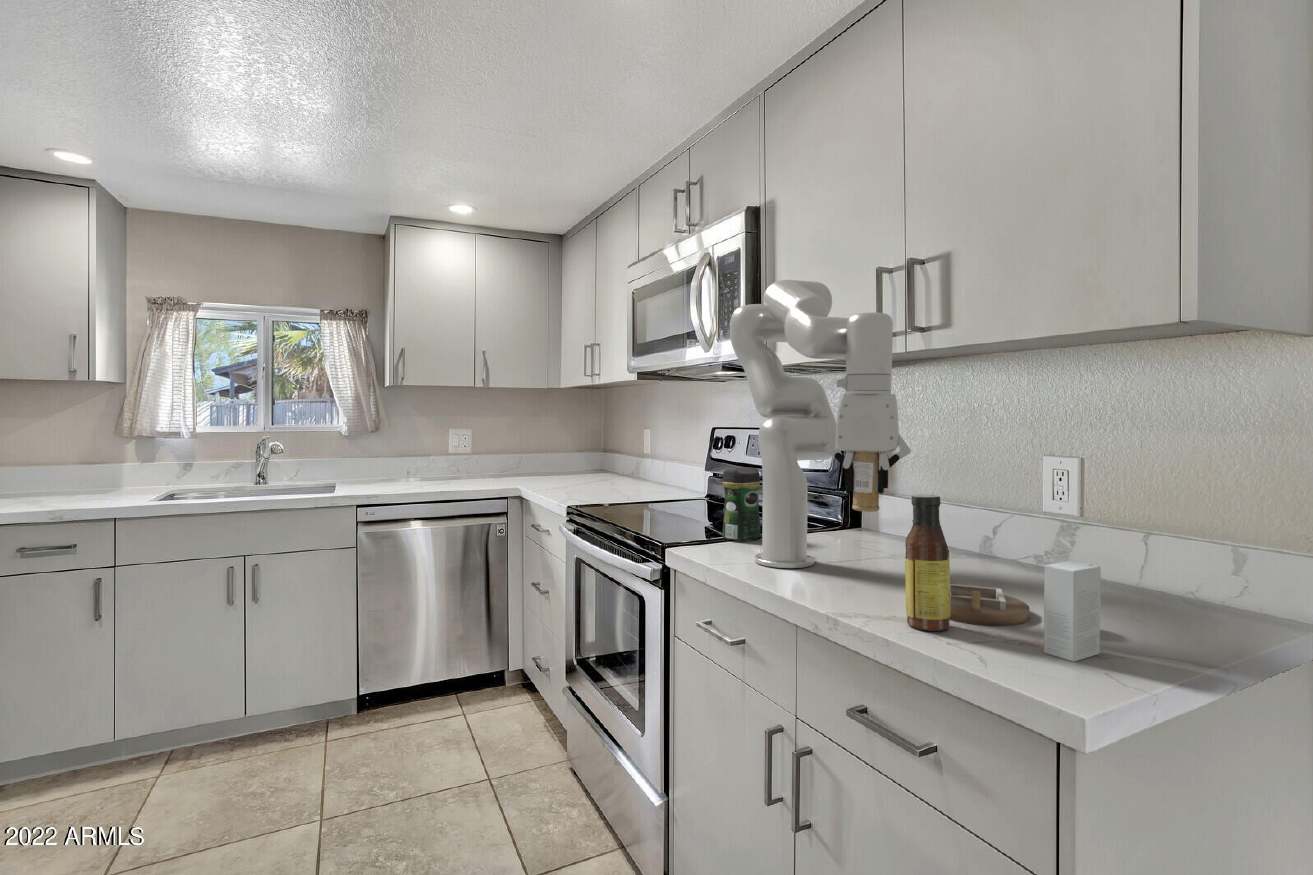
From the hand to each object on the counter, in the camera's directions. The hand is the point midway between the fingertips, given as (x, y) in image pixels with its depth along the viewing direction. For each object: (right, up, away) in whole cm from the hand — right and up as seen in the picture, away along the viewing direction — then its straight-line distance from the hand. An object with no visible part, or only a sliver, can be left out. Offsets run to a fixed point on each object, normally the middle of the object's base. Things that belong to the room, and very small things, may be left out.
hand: (866, 490), depth 116 cm
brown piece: (+16, -19, -6) cm, 26 cm away
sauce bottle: (+5, -20, -15) cm, 25 cm away
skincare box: (+19, -20, -26) cm, 38 cm away
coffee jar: (-15, -17, +56) cm, 61 cm away
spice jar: (0, -4, 0) cm, 4 cm away
